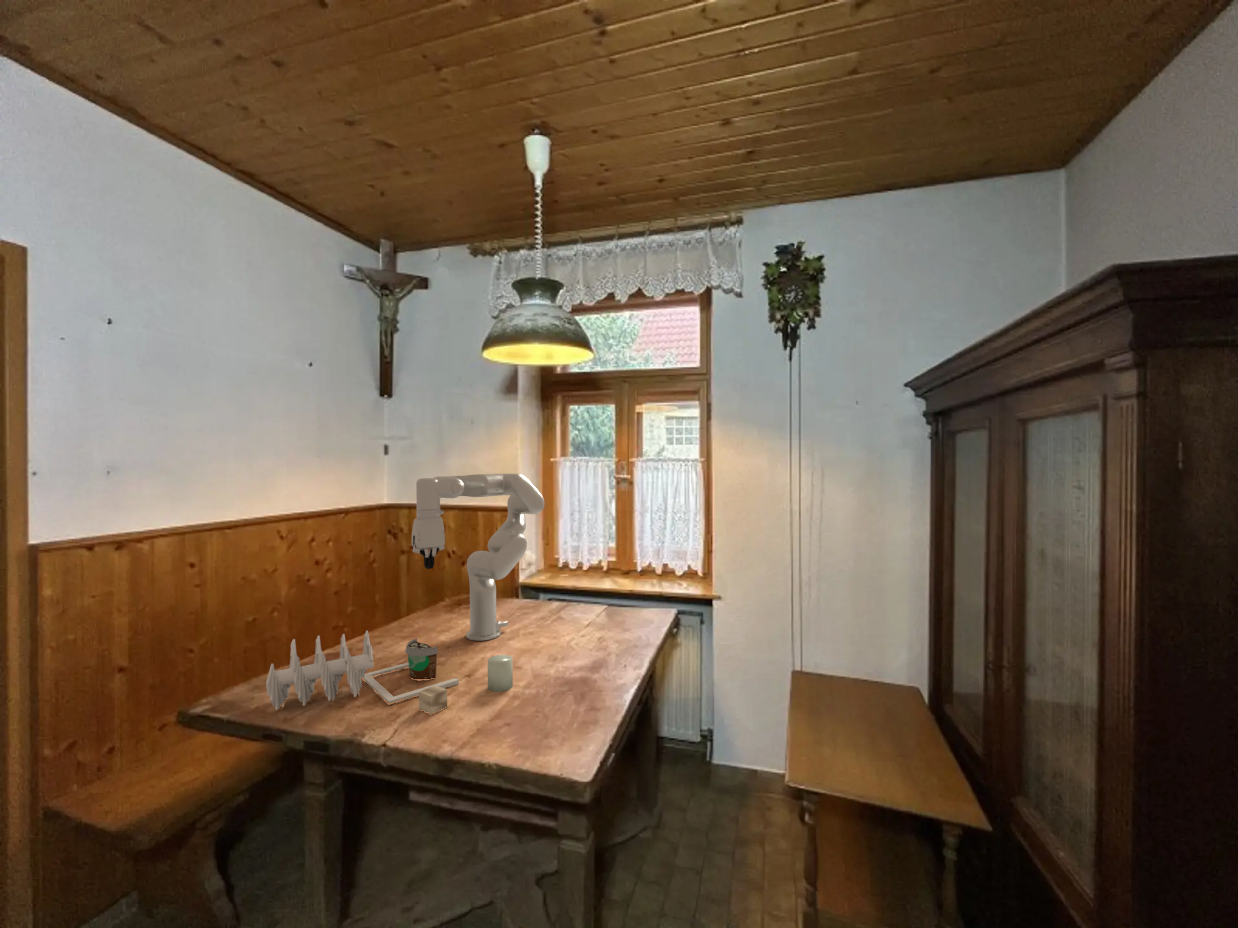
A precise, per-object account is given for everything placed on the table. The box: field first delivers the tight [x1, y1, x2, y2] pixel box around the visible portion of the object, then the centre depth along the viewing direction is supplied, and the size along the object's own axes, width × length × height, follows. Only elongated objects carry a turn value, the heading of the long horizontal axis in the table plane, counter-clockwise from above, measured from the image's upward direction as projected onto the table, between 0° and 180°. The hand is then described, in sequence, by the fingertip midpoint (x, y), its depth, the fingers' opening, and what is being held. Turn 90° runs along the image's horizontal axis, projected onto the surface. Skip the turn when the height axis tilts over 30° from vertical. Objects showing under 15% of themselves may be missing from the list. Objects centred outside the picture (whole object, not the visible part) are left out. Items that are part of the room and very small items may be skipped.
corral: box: [362, 661, 460, 703], centre depth 158 cm, size 20×24×1 cm
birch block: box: [418, 684, 448, 714], centre depth 140 cm, size 5×5×5 cm
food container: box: [404, 638, 439, 679], centre depth 161 cm, size 12×6×10 cm, turn 51°
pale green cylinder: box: [487, 654, 514, 693], centre depth 154 cm, size 7×7×8 cm
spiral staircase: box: [265, 630, 374, 711], centre depth 146 cm, size 18×18×25 cm
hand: (429, 568), depth 180 cm, fingers closed
